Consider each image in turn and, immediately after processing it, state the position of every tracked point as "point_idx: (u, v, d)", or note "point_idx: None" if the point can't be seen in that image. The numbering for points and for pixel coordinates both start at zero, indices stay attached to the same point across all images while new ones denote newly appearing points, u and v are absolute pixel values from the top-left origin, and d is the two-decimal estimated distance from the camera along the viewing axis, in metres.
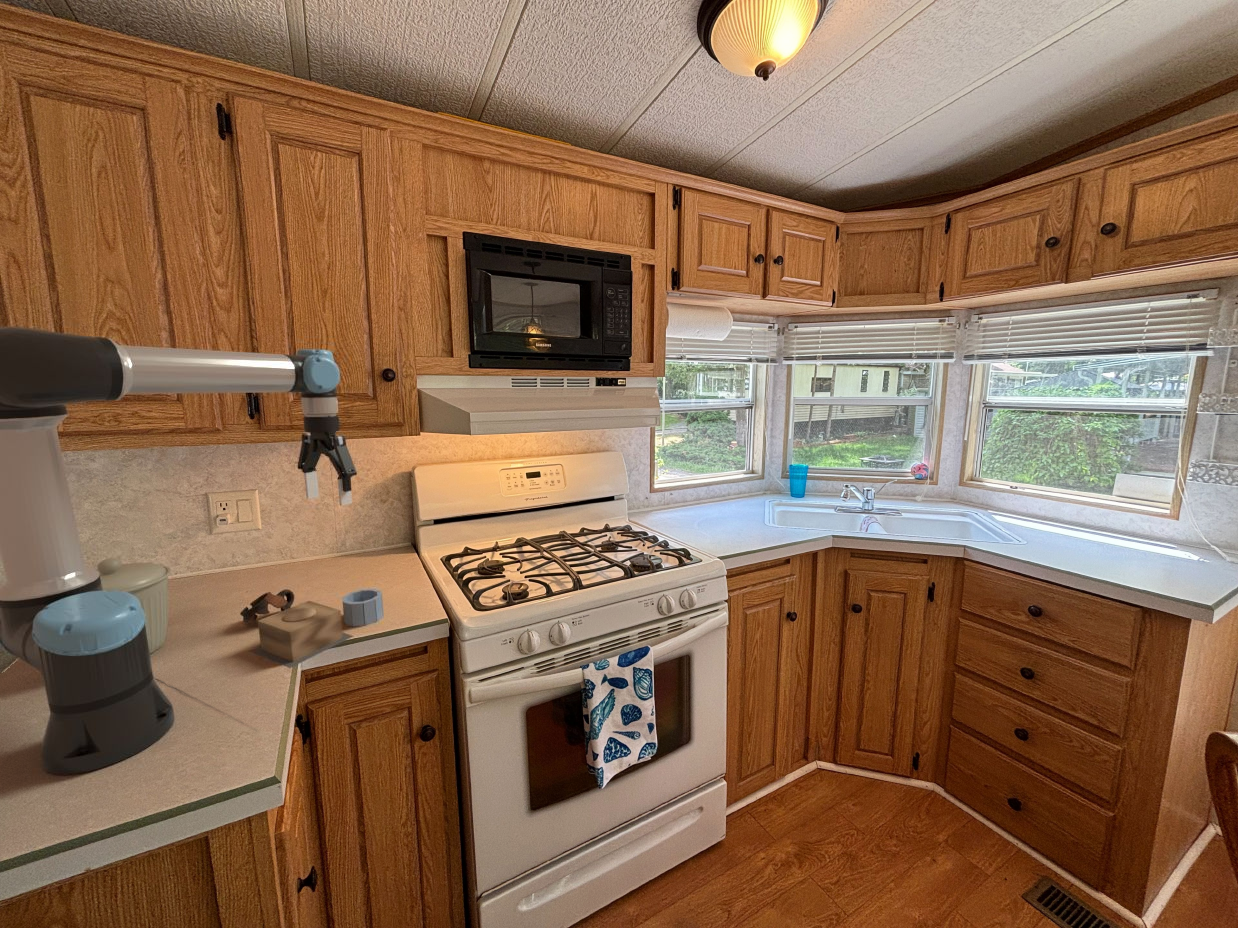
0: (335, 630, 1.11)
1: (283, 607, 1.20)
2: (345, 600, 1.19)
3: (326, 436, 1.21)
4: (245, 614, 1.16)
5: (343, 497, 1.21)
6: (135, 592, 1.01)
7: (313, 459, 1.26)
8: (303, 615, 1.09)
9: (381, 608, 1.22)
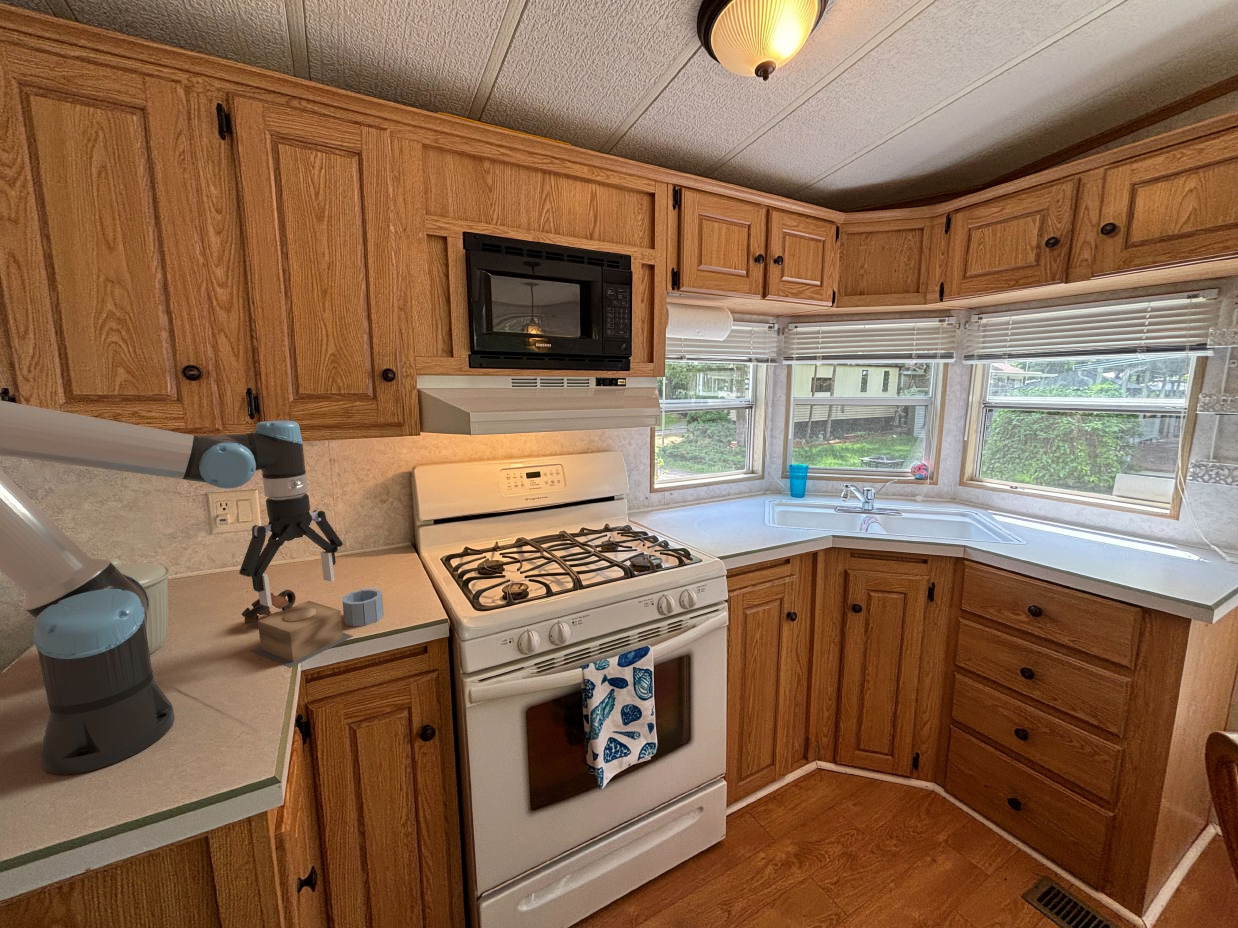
0: (335, 630, 1.11)
1: (285, 607, 1.20)
2: (345, 600, 1.19)
3: None
4: (246, 615, 1.16)
5: (260, 595, 1.03)
6: None
7: (313, 540, 1.11)
8: (303, 615, 1.09)
9: (381, 608, 1.22)
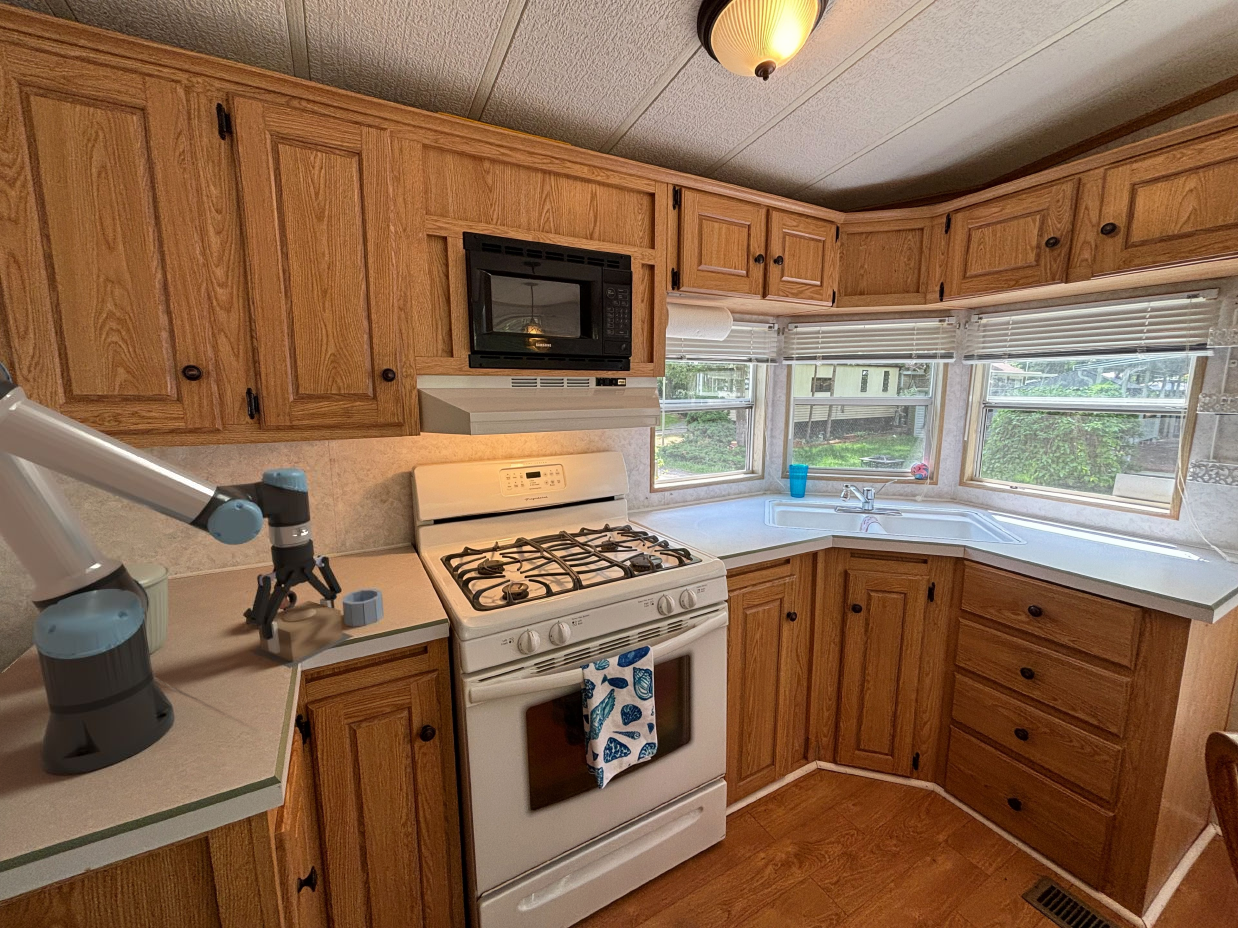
0: (335, 630, 1.11)
1: (286, 608, 1.19)
2: (345, 600, 1.19)
3: None
4: (248, 615, 1.15)
5: (269, 642, 1.05)
6: None
7: (314, 586, 1.12)
8: (303, 615, 1.09)
9: (381, 608, 1.22)
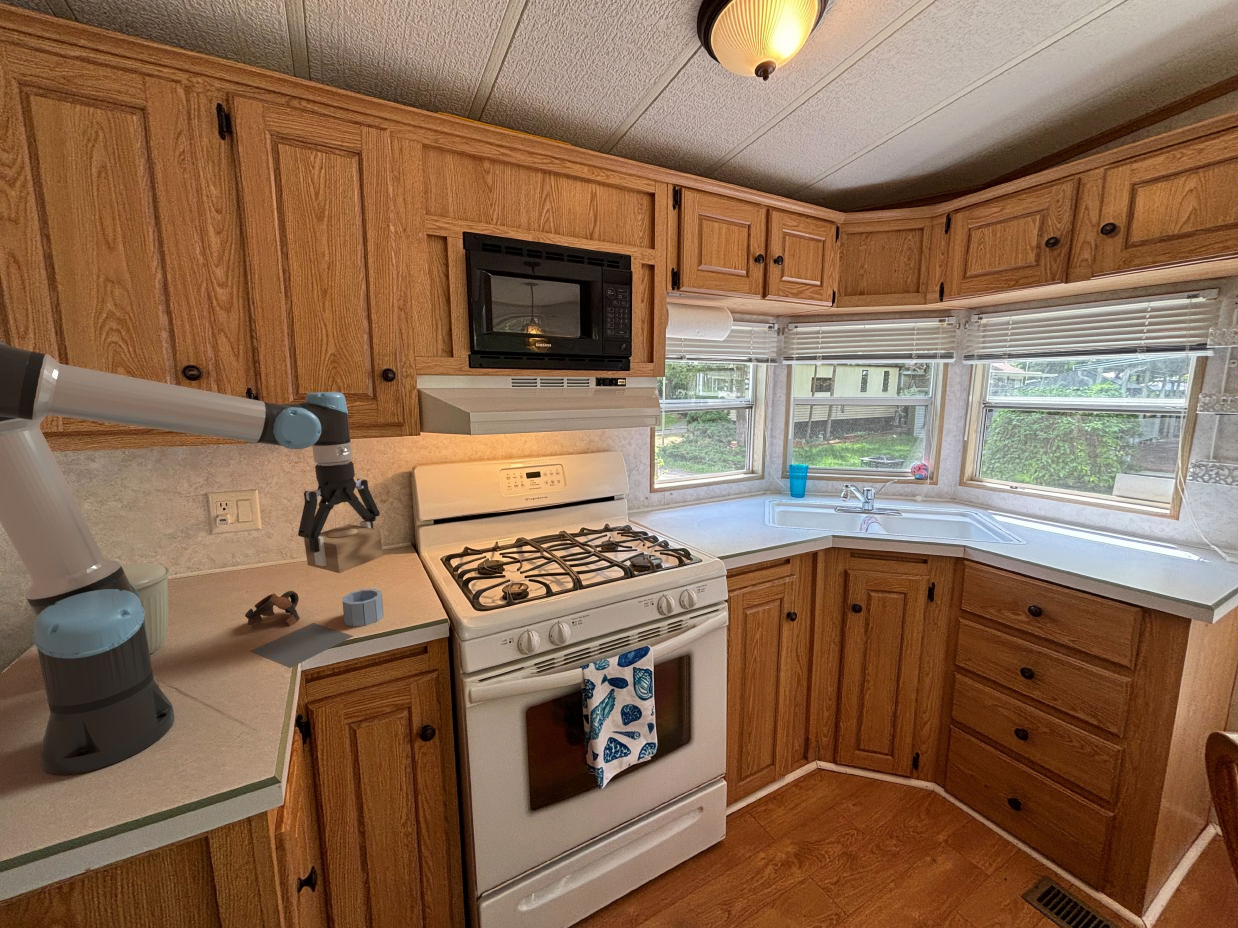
0: (375, 548, 1.18)
1: (288, 608, 1.19)
2: (345, 600, 1.19)
3: None
4: (250, 616, 1.15)
5: (316, 556, 1.11)
6: None
7: (355, 507, 1.19)
8: (346, 533, 1.15)
9: (381, 608, 1.22)
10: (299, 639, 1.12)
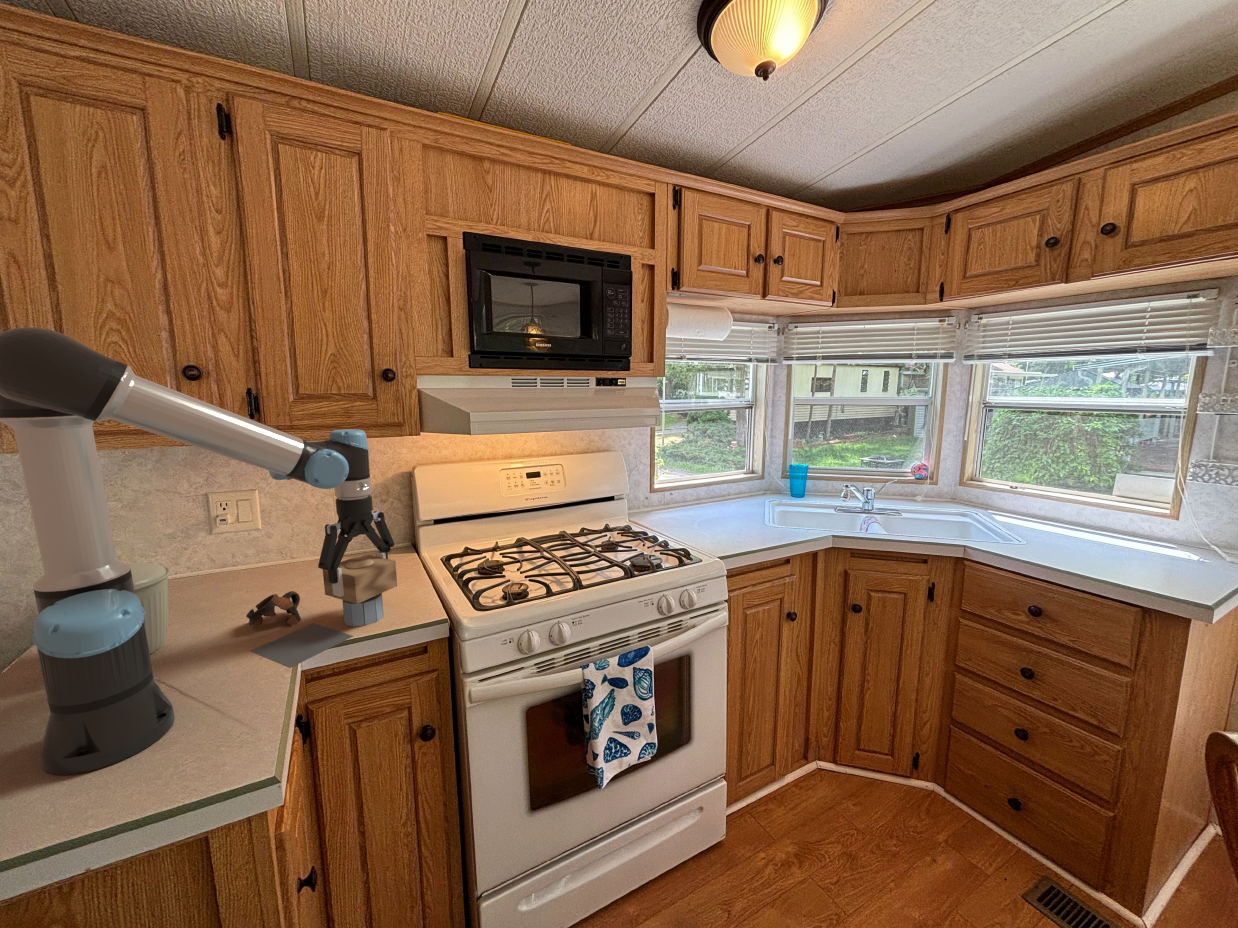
0: (390, 578, 1.22)
1: (290, 609, 1.19)
2: None
3: None
4: (251, 616, 1.15)
5: (334, 587, 1.16)
6: (135, 592, 1.01)
7: (371, 539, 1.23)
8: (363, 564, 1.20)
9: (381, 608, 1.22)
10: (299, 639, 1.12)
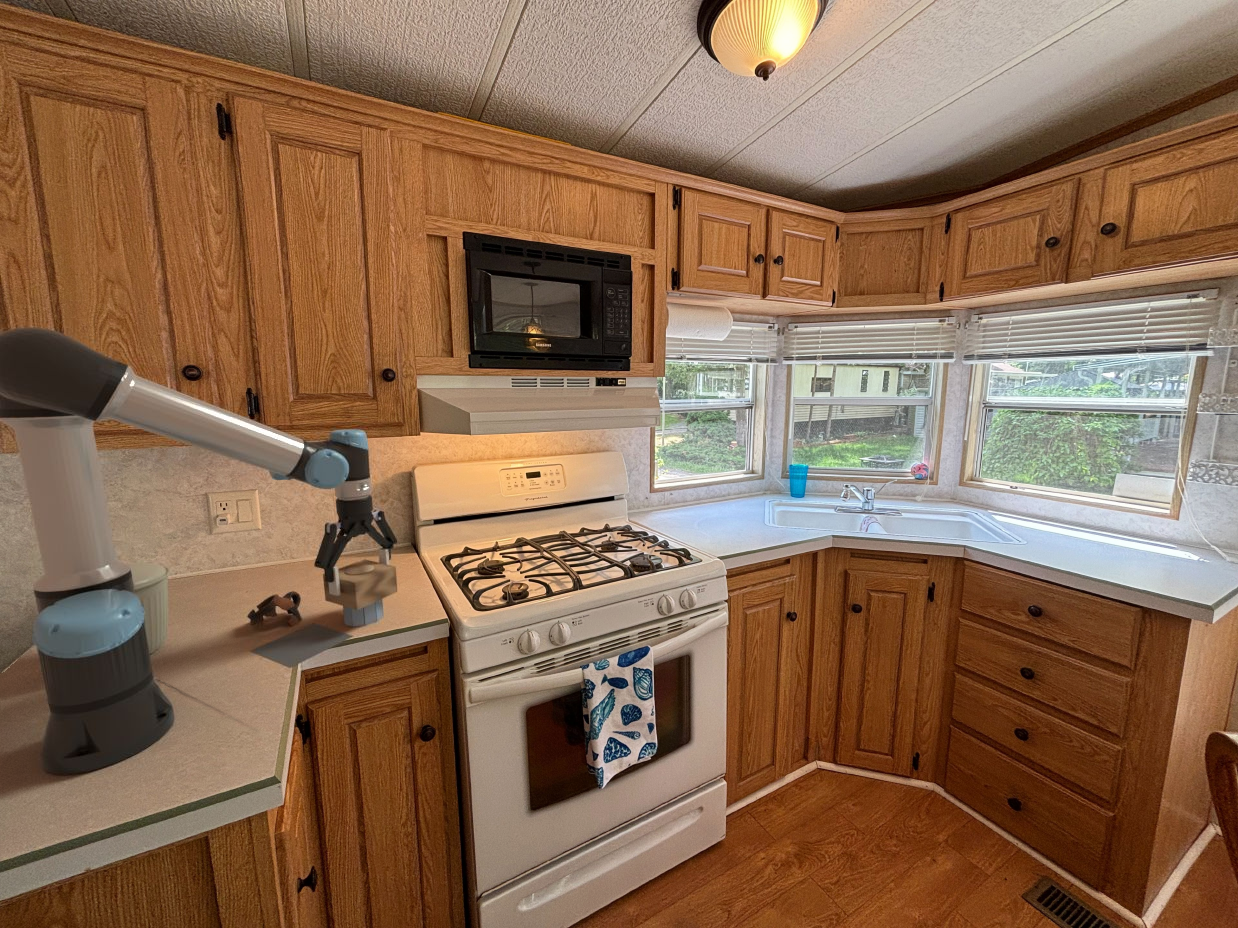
0: (391, 584, 1.22)
1: (291, 609, 1.19)
2: None
3: None
4: (253, 617, 1.15)
5: (330, 586, 1.15)
6: (135, 592, 1.01)
7: (373, 537, 1.23)
8: (363, 570, 1.20)
9: (381, 608, 1.22)
10: (299, 639, 1.12)
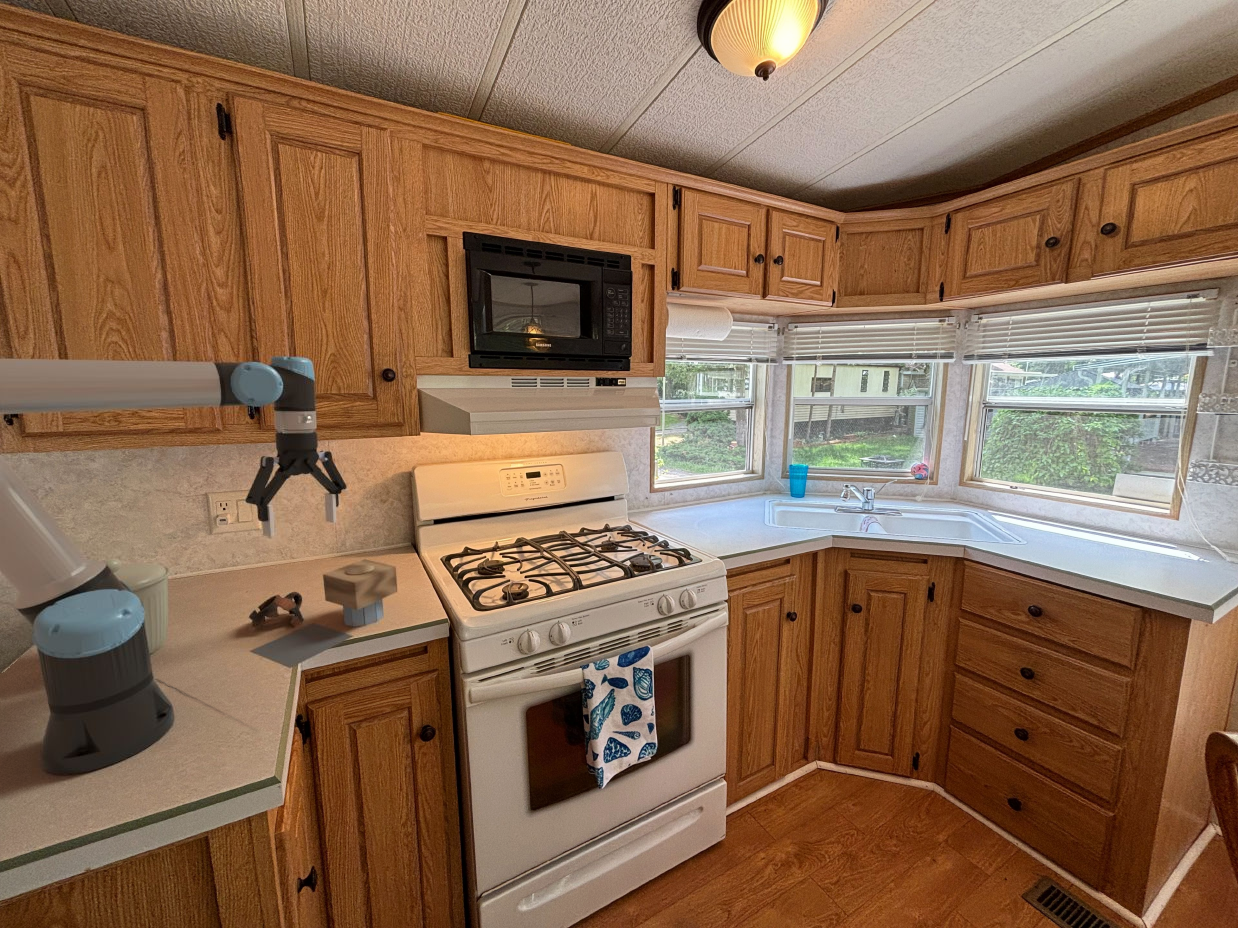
0: (391, 584, 1.22)
1: (292, 610, 1.18)
2: None
3: None
4: (254, 617, 1.14)
5: (264, 526, 1.04)
6: (135, 592, 1.01)
7: (318, 479, 1.13)
8: (363, 570, 1.20)
9: (381, 608, 1.22)
10: (299, 639, 1.12)
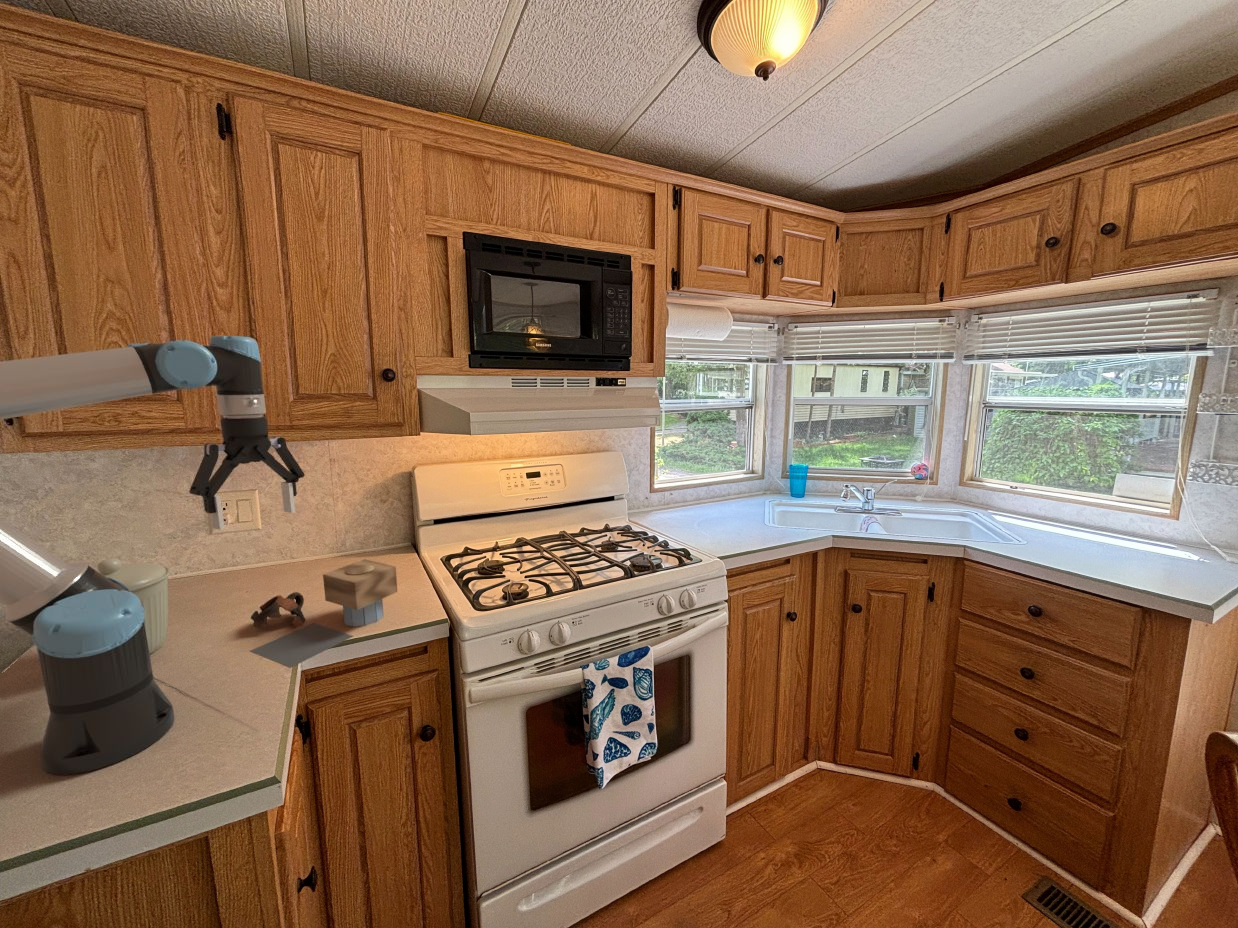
0: (391, 584, 1.22)
1: (294, 610, 1.18)
2: None
3: None
4: (256, 618, 1.14)
5: (212, 518, 0.98)
6: (135, 592, 1.01)
7: (272, 467, 1.07)
8: (363, 570, 1.20)
9: (381, 608, 1.22)
10: (299, 639, 1.12)
